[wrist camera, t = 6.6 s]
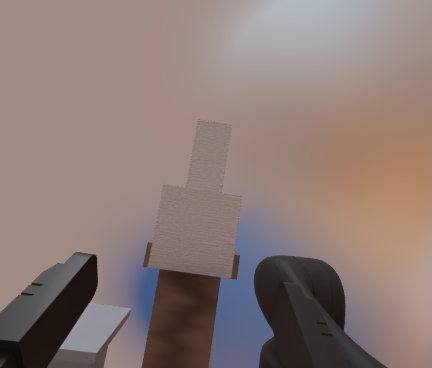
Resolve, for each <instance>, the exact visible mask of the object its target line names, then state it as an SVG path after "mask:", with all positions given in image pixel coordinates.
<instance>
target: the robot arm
mask: <svg viewBox="0 0 432 368" xmlns="http://www.w3.org/2000/svg"><path fill="white" fill-rule="evenodd" d="M97 275H98V274H97V257H96V255H94V254H87V253H80V252H76V253H74V254H73V255H72V256H71V257H70V258H69V259H68V260H67V261H66V262H65V263H64V264H60V263H58V264H56V265H54V266H53V267H51V268H49V269H47V270H46V271H44V272H43V273H41V274H40V275H39V276H38V278H36V279H35V280H34V281H33V282H32V284H31V285H29V286H28V287H27V288H26V289H25V290H24V291H23V292H22V293H21V295H18V296H17V297H16V298H15V299H14V300H13V301H12V302H11V303H10V304H9V305H8V306H7V307H6V308H5V309H4V310H2V312H1V313H0V368H47V367H48V365H49V364H50V362H51V361H52V359H53V358H54V356H55V355H56V353H57V352H58V350H59V348H60V347H61V345H62V344H63V342H64V341H65V339H66V338H67V336H68V335H69V333H70V332H71V330H72V329H73V327H74V326H75V324H76V323H77V321H78V319H79V318H80V316H81V315H82V313H83V312H84V310H85V309H86V307H87V306H88V304H89V303H90V301H91V300H92V298H93V296H94V294H95V292H96V289H97V284H98V276H97ZM254 288H255V294H256V297H257V301H258V303H259V306H260V308H261V311H262V313H263V315H264V317H265V318H266V320H267V322H268V324H269V325H270V327H271V328H272V330H273V332H274V337H273V338H271V339H269V340H268V341H267V342H266V343H265V344H264V345H263V347H262V350H261V354H260V363H259V368H387V367H385V366H384V365H383V364H381V363H380V362H379V361H377V360H376V359H375V358H373V357H372V356H371V355H369V354H368V353H367V352H366V351H365V350H363V349H362V348H361V347H360V346H358V345H357V344H356V343H355V342H354V341H353V340H352V339H351V338H350V337H349V336H348V335H347V334H346V333H345V332H344V324H345V295H344V290H343V286H342V283H341V280H340V278H339V276H338V275H337V273H336V272H335V270H334V269H333V268H332V267H331V266H330V265H329V264H327V263H325V262H324V261H321V260H318V259H312V258H303V257H295V256H271V257H268V258H266V259H264V260H262V261H261V262H260V263H259V264H258V266H257V268H256V270H255V275H254Z"/></svg>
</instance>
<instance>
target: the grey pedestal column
mask: <svg viewBox="0 0 432 368" xmlns="http://www.w3.org/2000/svg"><path fill="white" fill-rule="evenodd" d="M130 312H131V308H124V307H116V306H108V305H100V304H93V303H89V304H88V306H87V307H86V309H85V310H84V312H83V313H82V315H81V316H80V318H79V319H78V321H77V323H76V324H75V326H74V327H73V329H72V330H71V332H70V333H69V335H68V336H67V338H66V339H65V341H64V342H63V344H62V345H61V347H60V348H59V350H58V352H57V353H56V355H55V356H54V358H53V359H52V361H51V362H50V364H49V365H48V367H47V368H103V367H104V362H105V358H106V353H107V348H108V345H109V343H110V342H111V341H112V339H113V338H114V336H115V335H116V334H117V332H118V331H119V330H120V328H121V327H122V326H123V324H124V323H125V321H126V320H127V318H128V317H129V316H130Z"/></svg>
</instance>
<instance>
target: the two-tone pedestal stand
mask: <svg viewBox="0 0 432 368" xmlns="http://www.w3.org/2000/svg"><path fill="white" fill-rule="evenodd" d="M152 242H153V240H152V241H150V242H148V244H147V249H146V254H145V259H144V264H143V266H144V267H148V262H149V257H150V252H151V247H152ZM239 257H240V255H239V254H237V253H236V252H235V253H234V260H233V268H232V276H231V279H237V273H238V265H239ZM220 279H221V277H215V276H208V275H201V274H193V273H186V272H179V271H172V270H165V269H160V271H159V277H158V282H157V287H156V293H155V298H154V304H153V310H152V315H151V320H150V325H149V331H148V337H147V342H146V347H145V353H144V358H143V364H142V368H208V367H209V359H210V352H211V344H212V337H213V330H214V322H215V315H216V308H217V301H218V294H219V286H220Z"/></svg>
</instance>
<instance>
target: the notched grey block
mask: <svg viewBox="0 0 432 368" xmlns="http://www.w3.org/2000/svg"><path fill="white" fill-rule="evenodd" d="M230 131H231V125H228V124H222V123H217V122H211V121H205V120H200V119H198V122H197V128H196V133H195V139H194V145H193V150H192V156H191V162H190V168H189V174H188V179H187V185H186V188H184V187H178V186H170V185H163V190H162V195H161V200H160V206H159V211H158V217H157V221H156V226H155V232H154V236H153V242H152V247H151V252H150V257H149V262H148V267H150V268H157V269H165V270H172V271H179V272H186V273H193V274H201V275H208V276H215V277H222V278H229V279H231V276H232V268H233V260H234V253H235V245H236V237H237V229H238V222H239V214H240V206H241V198H242V197H241V196H235V195H227V194H222V186H223V179H224V173H225V166H226V159H227V151H228V145H229V138H230Z"/></svg>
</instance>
